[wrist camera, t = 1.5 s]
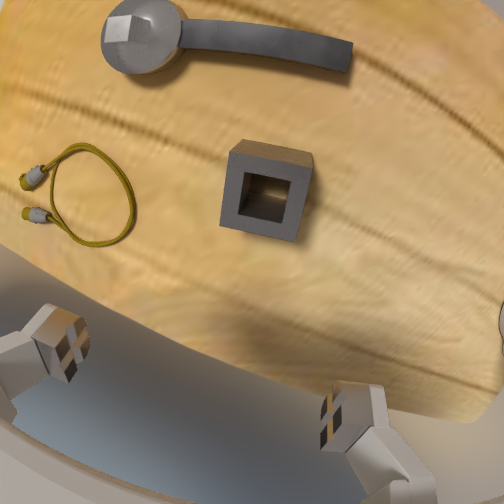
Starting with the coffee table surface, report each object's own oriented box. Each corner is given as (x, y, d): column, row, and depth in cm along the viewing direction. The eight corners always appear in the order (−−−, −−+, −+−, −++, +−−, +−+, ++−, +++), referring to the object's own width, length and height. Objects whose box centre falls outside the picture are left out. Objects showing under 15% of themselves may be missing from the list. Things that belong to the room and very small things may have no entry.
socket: (311, 153, 25) (313, 168, 20) (296, 215, 28) (295, 242, 23) (242, 139, 25) (229, 151, 21) (233, 201, 28) (219, 225, 24)
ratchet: (354, 20, 19) (367, 4, 14) (338, 100, 22) (347, 104, 18) (122, 2, 20) (86, -8, 15) (111, 73, 23) (74, 76, 19)
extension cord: (35, 117, 26) (23, 121, 25) (151, 170, 28) (142, 176, 26) (24, 210, 33) (14, 217, 31) (123, 267, 34) (114, 277, 32)
